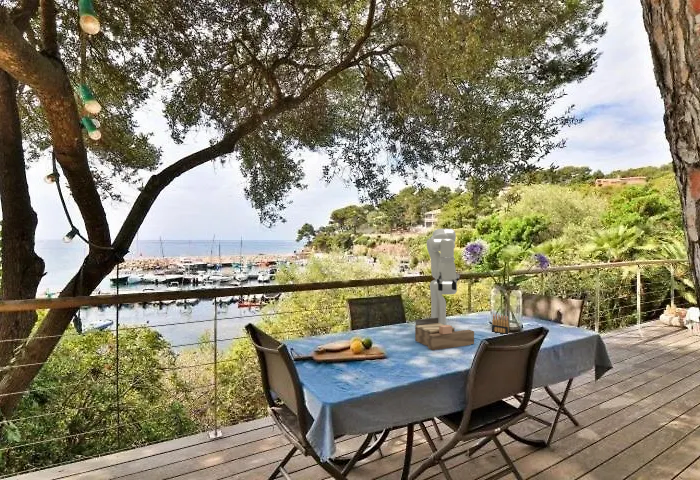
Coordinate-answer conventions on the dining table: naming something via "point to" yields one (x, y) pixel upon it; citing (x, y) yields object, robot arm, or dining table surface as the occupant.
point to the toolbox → (444, 339)
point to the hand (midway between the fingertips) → (447, 290)
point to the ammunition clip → (500, 325)
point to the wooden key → (445, 329)
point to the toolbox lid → (429, 324)
